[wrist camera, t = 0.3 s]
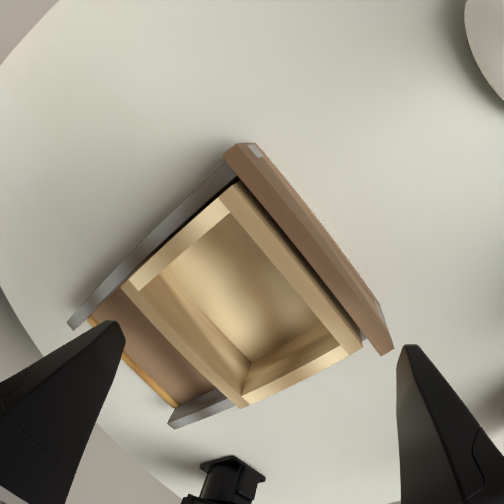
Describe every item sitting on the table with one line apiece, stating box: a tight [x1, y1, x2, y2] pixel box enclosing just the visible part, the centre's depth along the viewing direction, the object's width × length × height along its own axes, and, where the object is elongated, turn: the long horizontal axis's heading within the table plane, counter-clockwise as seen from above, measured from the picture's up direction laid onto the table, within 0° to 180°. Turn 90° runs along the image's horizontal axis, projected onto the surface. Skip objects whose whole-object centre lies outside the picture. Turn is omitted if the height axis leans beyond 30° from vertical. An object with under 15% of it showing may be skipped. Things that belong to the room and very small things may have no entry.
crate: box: [120, 180, 363, 409], centre depth 21 cm, size 10×12×5 cm
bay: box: [67, 143, 394, 429], centre depth 23 cm, size 22×15×6 cm, turn 130°
